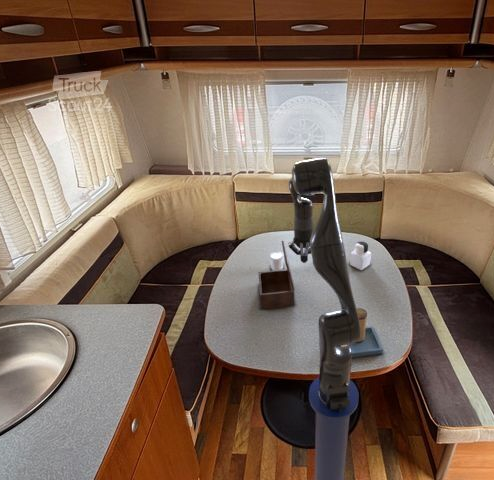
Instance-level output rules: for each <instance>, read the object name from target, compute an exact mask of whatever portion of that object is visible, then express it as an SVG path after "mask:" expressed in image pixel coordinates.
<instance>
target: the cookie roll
mask: <svg viewBox="0 0 494 480" xmlns="http://www.w3.org/2000/svg"><path fill="white" fill-rule="evenodd" d="M356 309H357V313H358V317H359V322H360V327H361V337H360V340H359V341H357V342H355V343H362V342H363V341H364V338H365V328H366V327H367V320H368V319H367V318H368V312H367V311H366V310H365V309H364V308H362V307H361V308H360V307H358V308H357V307H356Z"/></svg>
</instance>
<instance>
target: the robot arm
mask: <svg viewBox="0 0 494 480" xmlns="http://www.w3.org/2000/svg"><path fill="white" fill-rule="evenodd" d="M288 190H289V193H290V196H291V198H292V201H293V208H294V209H293V211H294V212H293V216H294V218H293V233H294V234H293V238H292V241H289V242H288V243H287V244H288V248H289V249H290V250H291V251H292V252H293V253H294V254H295V255H296V256H300V262H301V263H302V264H306V263H307V262H308V261H309V255H311V260H312V265H313V267H314V269H315V271H316V272H317V273H318V275H320V277H321V278H322V279H323V280H324V281H325V282H326V283H327V284H328V285H329V287H331V289H332V290H333V292H334V293H335V295H336V296H337V299H338V301H339V303H340V308H341V309H339V310H335V311H331V312H326V313H322V314H321V315H320V316H319V318H318V323H317V324H318V325H317V326H318V345H319V346H318V348H319V368H318V369H319V374H318V377H319V398H320V400H321V401H322V402H323V403H324V404H325V405H326V407H327V409H329V408H331V410H333V409H339V412H342V411H343V409H342V408H347V407H349V384H350V380H351V371H352V362H353V361H352V360H353V357H352V350H351V348H350V346H349V345H348V344H351V343H354V342H357V341H359V340H360V337H361V327H360V322H359V317H358V313H357V306H356V302H355V297H354V293H353V289H352V285H351V281H350V274H349V269H348V261H347V254H346V249H345V243H344V239H343V234H342V230H341V224H340V220H339V213H338V208H337V200H336V199H337V198H336V191H335V181H334V176H333V170H332V165H331V163H330V161H329V160H328V159H327V158H326V157H322V158H321V157H320V158H314V159H308V160H302V161H299V162H296V163H295V164H294V165H292V167H291V177H290V179H289V181H288ZM320 193H322V194H323V199H322V200H323V203H322V207H321V210H320V214H319V216H318V219H317V221H316V223H315V225H314V216H313V215H314V214H313V212H314V211H313V210H314V209H313V208H314V205H313V201H312V200H310V199H308V198H304V197H303V196H307V197H308V196H315V195H316V194H320Z"/></svg>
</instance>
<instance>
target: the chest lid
mask: <svg viewBox="0 0 494 480" xmlns="http://www.w3.org/2000/svg"><path fill="white" fill-rule="evenodd" d="M281 246H282V251H283V252H282V253H283V255H284V263H285V267H286V269H287V271H288V275H289V279H290V282H291V286H292V290H293V291H294V292H295V290H296V289H295V284H294V280H293V274H292V269H291V265H290V264H291V263H290V260H289V257H288V252H287V248H286V245H285V241H284V240H281Z"/></svg>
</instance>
